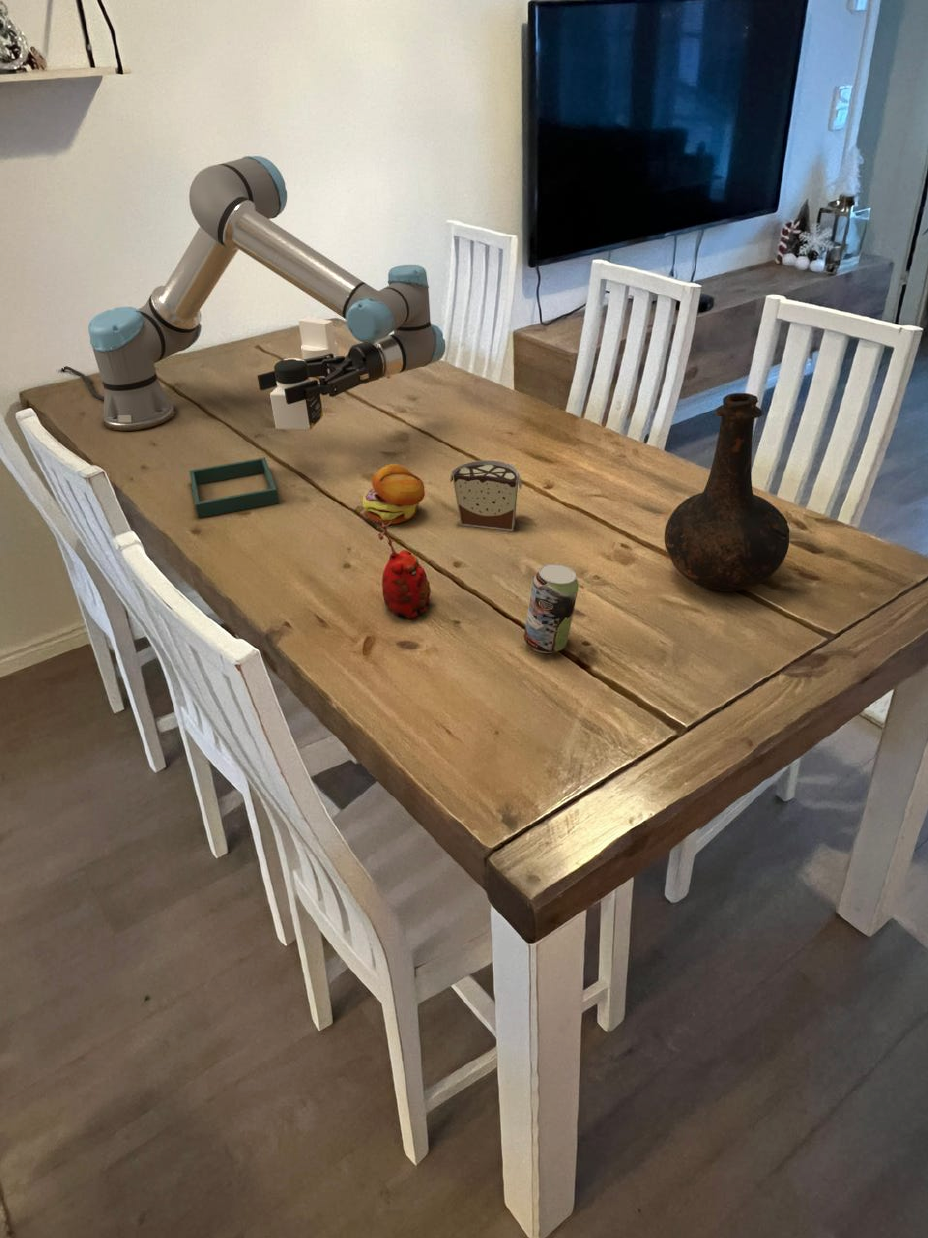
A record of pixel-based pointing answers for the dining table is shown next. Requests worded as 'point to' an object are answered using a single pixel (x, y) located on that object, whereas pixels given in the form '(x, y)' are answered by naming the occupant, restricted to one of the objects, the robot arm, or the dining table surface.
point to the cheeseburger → (393, 495)
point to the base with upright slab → (317, 338)
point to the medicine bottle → (296, 413)
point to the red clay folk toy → (404, 582)
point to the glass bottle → (729, 514)
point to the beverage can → (551, 608)
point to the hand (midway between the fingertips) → (272, 389)
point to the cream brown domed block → (486, 494)
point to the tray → (234, 501)
